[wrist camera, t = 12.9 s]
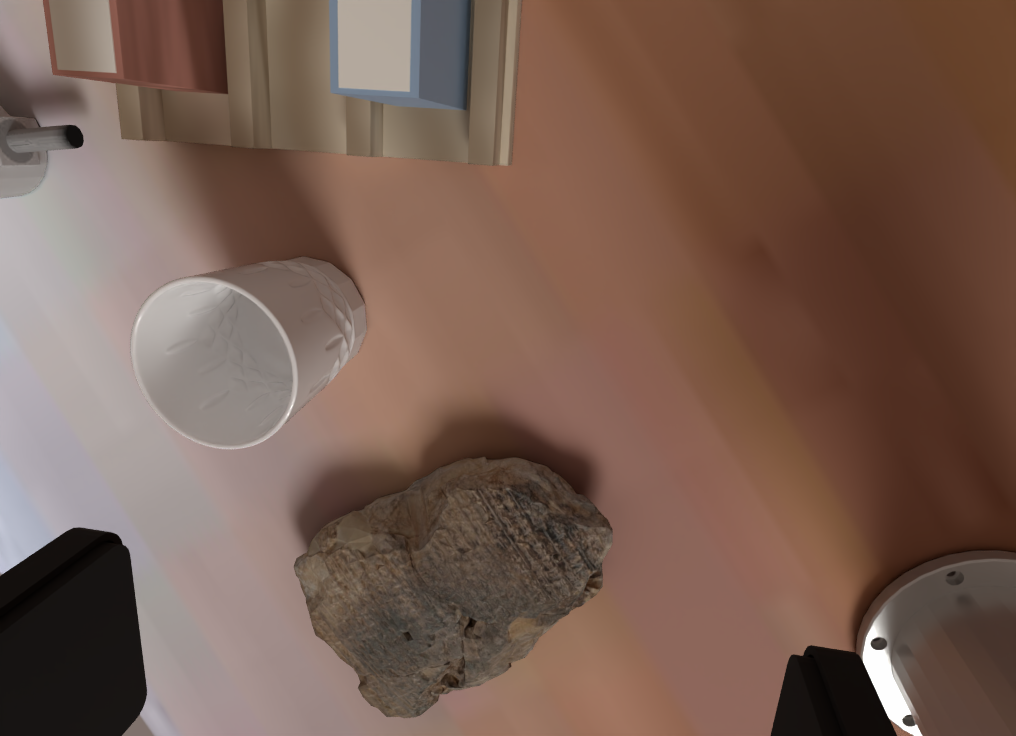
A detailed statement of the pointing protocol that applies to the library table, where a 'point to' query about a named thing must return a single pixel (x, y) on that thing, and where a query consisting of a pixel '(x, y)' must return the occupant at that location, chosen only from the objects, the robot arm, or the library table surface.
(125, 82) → the book rack
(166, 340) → the white cup
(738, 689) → the library table surface
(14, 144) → the grey machine model
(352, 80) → the blue book
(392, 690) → the clay tablet
